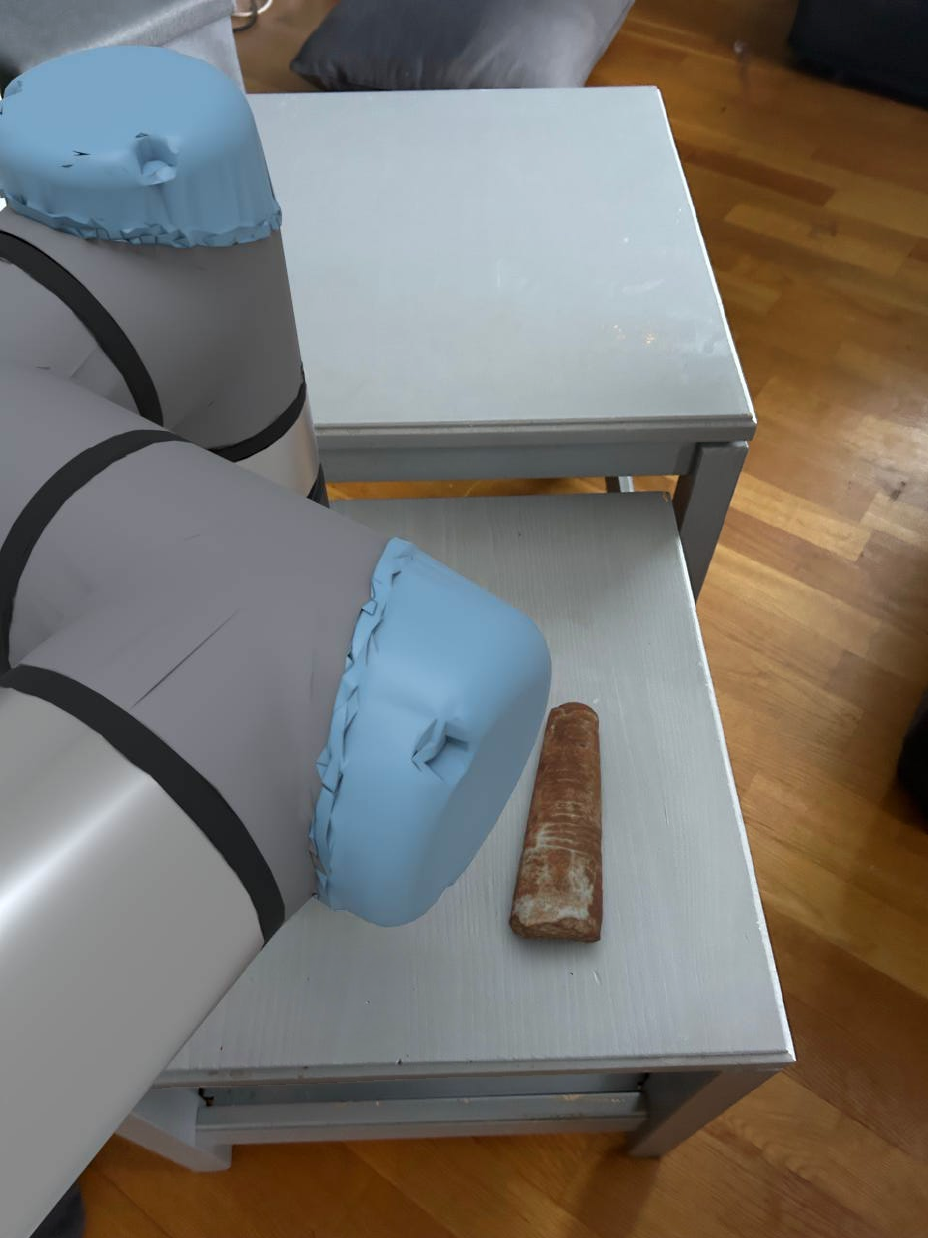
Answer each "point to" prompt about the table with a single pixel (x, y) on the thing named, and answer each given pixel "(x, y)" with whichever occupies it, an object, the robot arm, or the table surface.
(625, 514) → the table surface
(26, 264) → the robot arm
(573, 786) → the bread
